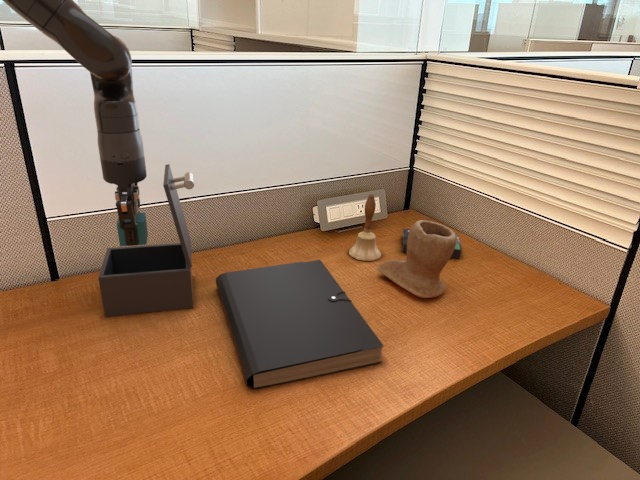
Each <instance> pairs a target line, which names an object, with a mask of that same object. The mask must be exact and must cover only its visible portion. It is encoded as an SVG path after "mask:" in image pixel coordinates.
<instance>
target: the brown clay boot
mask: <svg viewBox="0 0 640 480" xmlns="http://www.w3.org/2000/svg"><path fill="white" fill-rule="evenodd" d="M409 229H410V231H409V234H408V240H407V253H406V260H405V259H404V260H400V259H389V260H385V261H384V262H382V263H380V264H378V266H377V268H376V270H377V271H378V272H379V273H380V274H382V275H384V276H385V277H387V278H388V279H389V280H390V281H392V282H393V283H395V284H396V285H398V286H399V287H401V288H402V289H404V290H405V291H407V292H409V293H411V294H413V295H414V296H416V297H418V298H420V299H432V298H436V297H439V296H441V295H443V294H444V293H445V292H446V290H447V285H446V284H445V283H444V282H443V281H442V279H441V273H442V271H443V270H444V268H445V267H446V265H447V263H448V262H449V261H450V259H451V258H452V257H451V255H452V253H453V251H454V249H455V246H456V235H457V234H456V233H455V231H454V230H453V229H451V228H450V227H447V226H446V225H444V224H441V223H438V222H435V221H431V220H425V219H420V220H417V221H415V222H414V223H413V224H412V225H411V227H409Z"/></svg>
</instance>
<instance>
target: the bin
mask: <svg viewBox="0 0 640 480" xmlns="http://www.w3.org/2000/svg"><path fill="white" fill-rule="evenodd" d="M97 279H98V285H99V289H100V290H99V291H100V295H101V296H100V297H101V302H102V307H103V312H104V317H106V318H107V317H108V318H109V317H118V316H119V317H120V316H129V315H137V314H138V315H139V314H147V313H155V312H157V313H158V312H165V311H166V312H168V311H176V310H186V309H187V310H188V309H193V308H194V292H193V291H194V289H193V287H194V286H193V272H192V267H191V268H188V267H187V263H186V260H185V257H184V253H183V250H182V247H181V243H180V242H176V243H164V244H163V243H162V244H149V245H147V244H146V245H135V246H119V247H107V248H106V251H105V254H104V257H103V261H102V264H101V268H100V271H99V274H98V277H97Z"/></svg>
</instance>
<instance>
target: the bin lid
mask: <svg viewBox="0 0 640 480" xmlns="http://www.w3.org/2000/svg"><path fill="white" fill-rule="evenodd" d="M163 174H164V175H163V184H162V186H163V189H164V192H165V196H166V199H167V202H168V203H167V204H168V207H169V209H170V213H171V216H172V219H173V223H174V226H175V229H176V233H177V236H178V239H179V243H181V247H182V250H183V253H184V257H185V260H186V263H187V267H188V268H191V269H192V268H193V259H192V239H191V236H190V235H191V234H190V232H189V229H188V225H187V221H186V217H185V214H184V211H183V207H182V203H181V201H180V200H181V199H180V197H179V193H178V189H183V188H185V189H186V190H193V188H194V187H195V180H194V178H195V177H194V174H193V173H192V172H185V173H184V175H182V176H179V177H174V176H173V172H172V168H171V165H170V164H165V165H164V173H163Z"/></svg>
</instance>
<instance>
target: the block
mask: <svg viewBox="0 0 640 480" xmlns="http://www.w3.org/2000/svg"><path fill="white" fill-rule="evenodd" d="M146 216H147V214H146V212H140V213H138V214H137V215H136V222H137V233H138V241H139V242H138V245H137V246H146V245H147V243H148V236H149V231H148V222H147V217H146ZM125 222H131V220H130V219H125ZM116 229H117V236H118V243H119V247H128V246H127V245H126V240H125V233H124V229H121V227H120V221H119V216H118V217H117V221H116Z"/></svg>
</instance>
